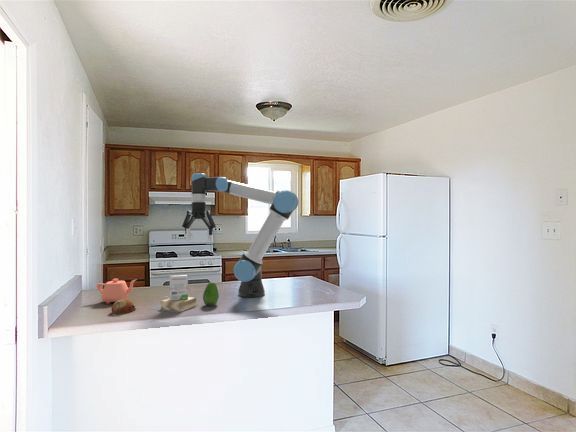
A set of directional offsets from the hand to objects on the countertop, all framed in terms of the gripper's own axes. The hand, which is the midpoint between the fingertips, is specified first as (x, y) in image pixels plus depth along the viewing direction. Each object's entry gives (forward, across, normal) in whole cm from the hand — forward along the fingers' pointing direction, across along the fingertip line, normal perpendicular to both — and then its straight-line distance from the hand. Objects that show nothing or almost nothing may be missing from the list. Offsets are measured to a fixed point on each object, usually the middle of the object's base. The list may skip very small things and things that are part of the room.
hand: (198, 240), depth 209 cm
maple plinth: (+31, -3, +21) cm, 38 cm away
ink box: (+28, -3, +21) cm, 35 cm away
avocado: (+32, -15, +11) cm, 37 cm away
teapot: (+32, +36, +22) cm, 53 cm away
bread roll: (+32, +17, +36) cm, 51 cm away
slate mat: (+32, 0, +21) cm, 38 cm away
